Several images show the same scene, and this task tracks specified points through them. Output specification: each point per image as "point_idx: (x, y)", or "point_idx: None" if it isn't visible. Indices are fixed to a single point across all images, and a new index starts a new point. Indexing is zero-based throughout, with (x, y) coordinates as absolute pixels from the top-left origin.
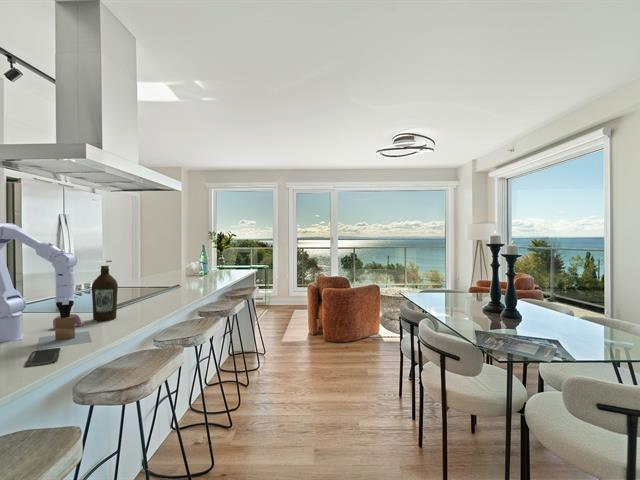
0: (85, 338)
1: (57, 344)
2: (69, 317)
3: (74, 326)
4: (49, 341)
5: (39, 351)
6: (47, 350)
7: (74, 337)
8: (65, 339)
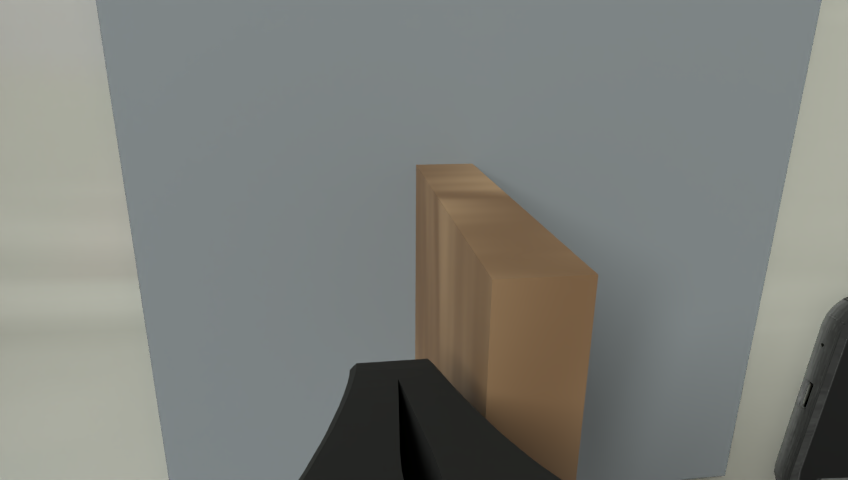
0: (587, 34)
1: (659, 335)
2: (561, 381)
3: (519, 211)
4: None
5: (821, 456)
6: (841, 401)
7: (476, 169)
8: None
